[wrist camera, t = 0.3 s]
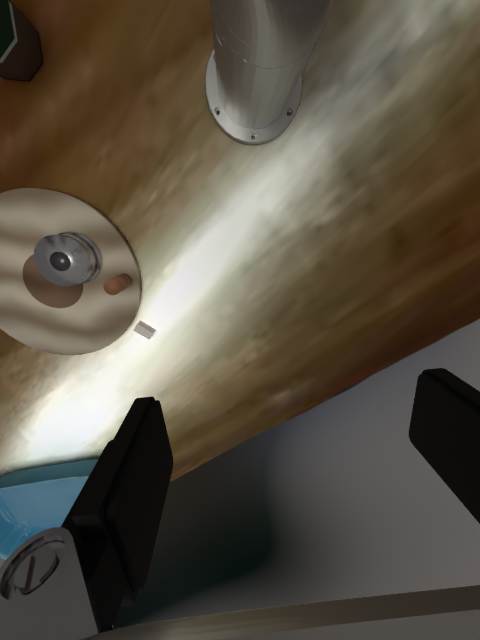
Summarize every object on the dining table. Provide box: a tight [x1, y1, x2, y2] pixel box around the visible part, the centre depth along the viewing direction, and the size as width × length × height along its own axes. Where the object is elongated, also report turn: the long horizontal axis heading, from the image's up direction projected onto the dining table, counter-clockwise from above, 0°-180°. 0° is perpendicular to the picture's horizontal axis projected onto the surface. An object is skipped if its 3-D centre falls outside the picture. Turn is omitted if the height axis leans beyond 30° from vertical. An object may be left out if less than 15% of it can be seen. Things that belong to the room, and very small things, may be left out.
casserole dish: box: [0, 459, 98, 560], centre depth 55 cm, size 37×22×7 cm, turn 100°
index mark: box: [134, 321, 155, 339], centre depth 45 cm, size 3×1×2 cm, turn 55°
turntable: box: [0, 188, 142, 355], centre depth 39 cm, size 26×26×6 cm
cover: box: [34, 232, 103, 286], centre depth 37 cm, size 8×8×4 cm
